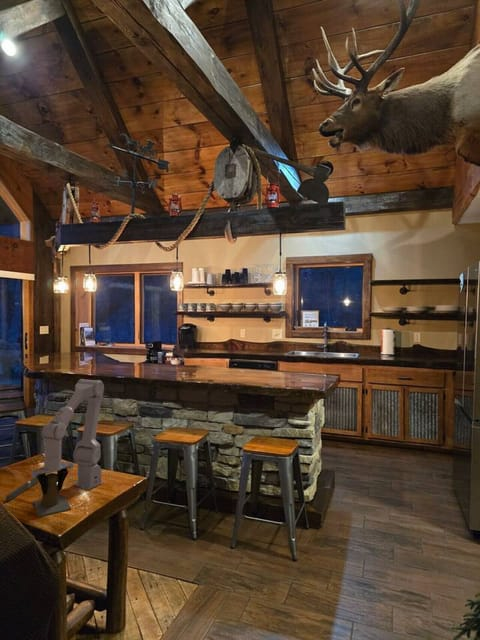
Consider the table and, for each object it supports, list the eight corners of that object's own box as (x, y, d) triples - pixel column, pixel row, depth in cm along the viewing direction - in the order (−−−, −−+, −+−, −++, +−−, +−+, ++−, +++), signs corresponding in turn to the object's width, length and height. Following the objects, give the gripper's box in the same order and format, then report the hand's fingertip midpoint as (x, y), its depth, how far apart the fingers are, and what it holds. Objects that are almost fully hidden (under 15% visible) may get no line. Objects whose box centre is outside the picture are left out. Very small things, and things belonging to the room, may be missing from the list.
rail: (59, 495, 161) (59, 489, 161) (55, 496, 160) (55, 490, 160) (54, 484, 171) (54, 478, 171) (51, 484, 170) (51, 479, 170)
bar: (10, 501, 154) (10, 494, 154) (5, 500, 155) (5, 494, 155) (40, 480, 173) (40, 475, 173) (35, 480, 174) (36, 474, 173)
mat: (71, 509, 150) (71, 508, 150) (37, 517, 144) (37, 515, 144) (64, 495, 161) (64, 494, 161) (33, 502, 155) (33, 501, 155)
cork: (42, 500, 155) (44, 471, 155) (59, 499, 157) (61, 470, 157) (39, 507, 149) (41, 477, 149) (57, 506, 151) (58, 477, 151)
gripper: (68, 448, 160) (67, 482, 160) (28, 456, 150) (27, 493, 150) (75, 453, 155) (74, 488, 155) (35, 462, 145) (34, 500, 145)
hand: (52, 491), depth 152 cm, fingers closed on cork, 5 cm apart
